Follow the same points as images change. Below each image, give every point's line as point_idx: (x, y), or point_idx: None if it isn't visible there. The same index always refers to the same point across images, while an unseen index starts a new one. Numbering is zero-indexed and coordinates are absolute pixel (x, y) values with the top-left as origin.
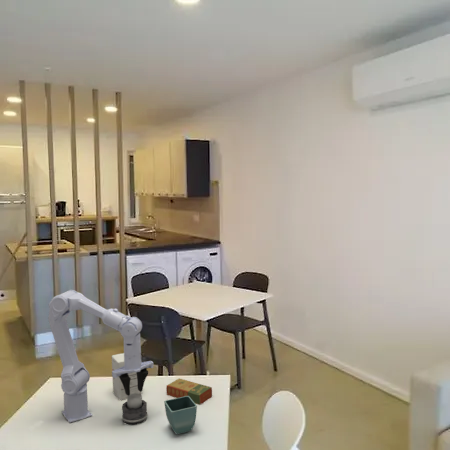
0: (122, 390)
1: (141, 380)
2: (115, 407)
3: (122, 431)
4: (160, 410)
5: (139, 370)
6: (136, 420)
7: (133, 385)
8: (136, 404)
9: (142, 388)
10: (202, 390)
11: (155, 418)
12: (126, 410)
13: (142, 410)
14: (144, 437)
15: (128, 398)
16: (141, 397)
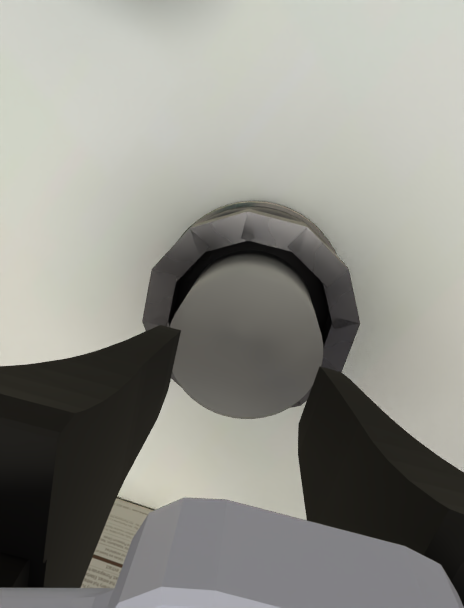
0: None
1: (131, 385)
2: (234, 480)
3: (422, 221)
4: (65, 233)
5: (225, 553)
6: (303, 217)
7: None
8: (277, 270)
9: (150, 330)
10: None
11: (157, 172)
12: (355, 303)
13: (250, 210)
14: (399, 4)
15: (312, 367)
16: (201, 285)
